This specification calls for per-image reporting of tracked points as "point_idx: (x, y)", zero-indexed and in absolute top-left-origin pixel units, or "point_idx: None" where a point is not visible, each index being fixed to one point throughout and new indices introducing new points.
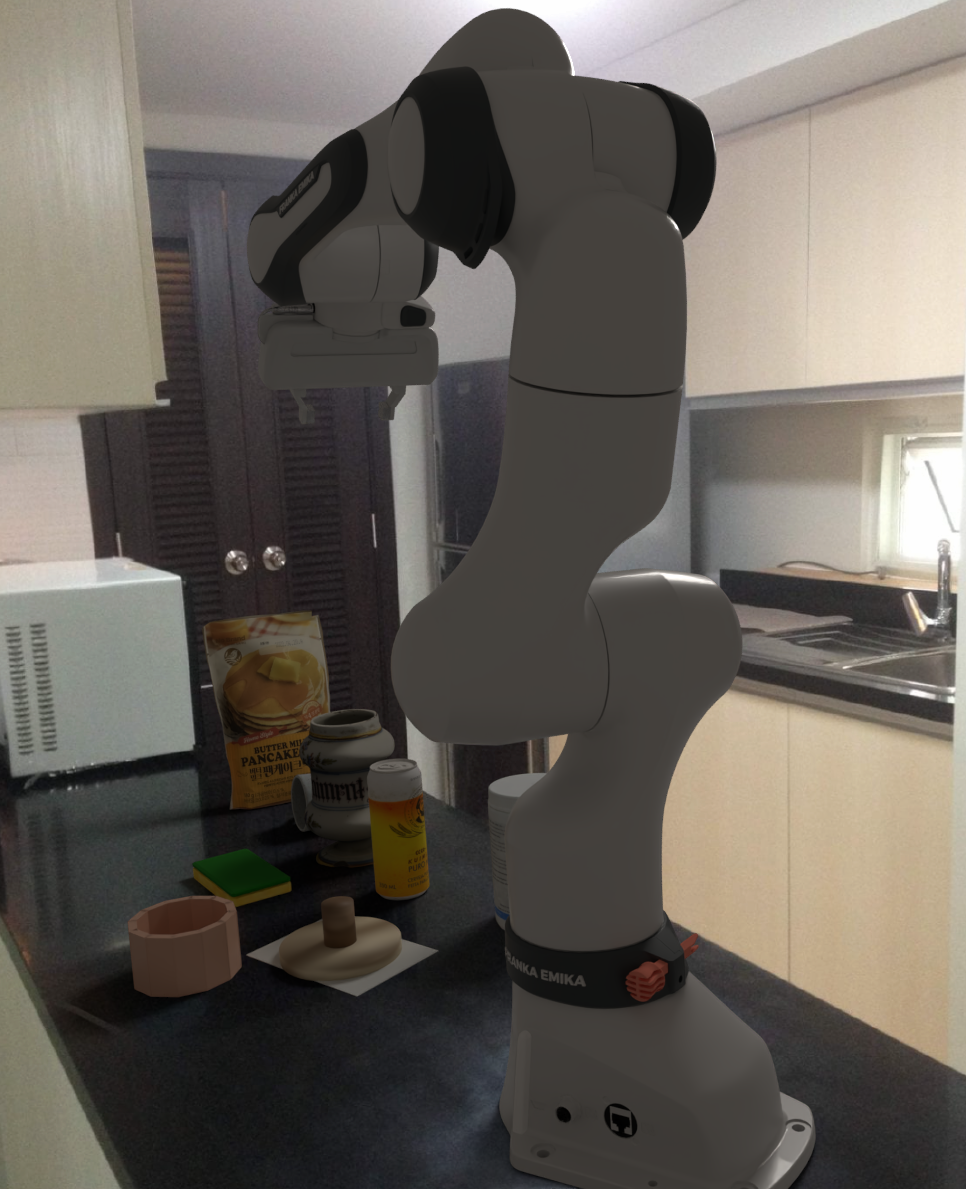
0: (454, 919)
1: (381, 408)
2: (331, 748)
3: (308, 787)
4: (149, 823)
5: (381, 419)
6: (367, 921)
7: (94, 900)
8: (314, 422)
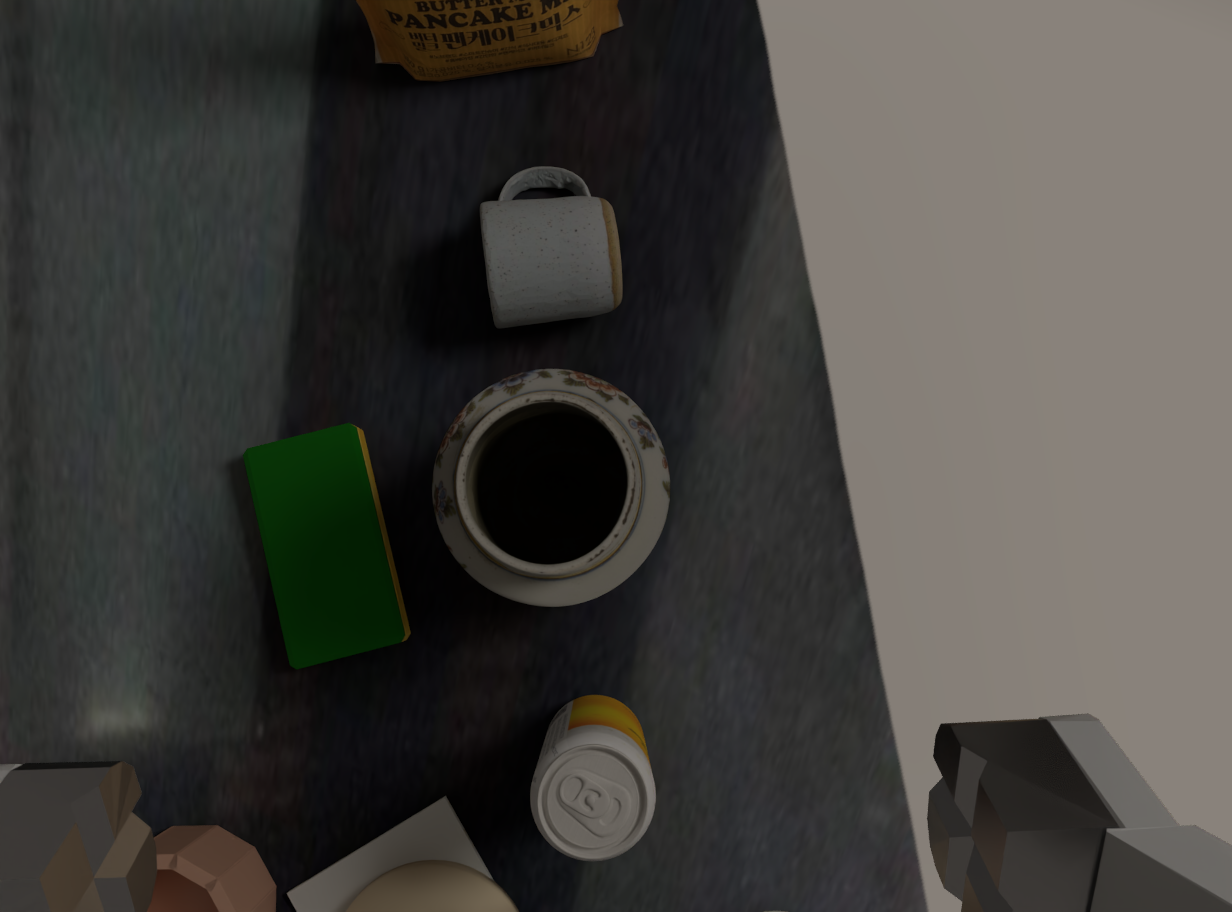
0: (644, 900)
1: (976, 908)
2: (491, 579)
3: (500, 297)
4: (203, 59)
5: (931, 828)
6: (489, 909)
7: (69, 483)
8: (150, 895)
